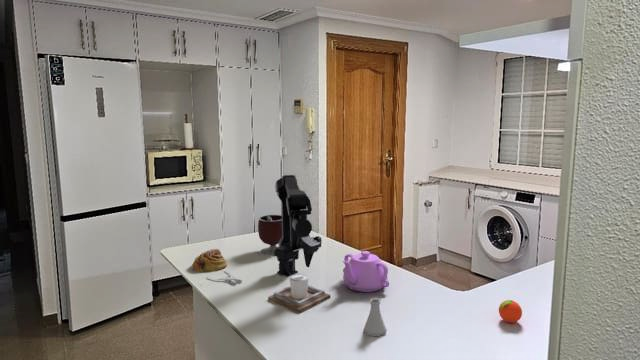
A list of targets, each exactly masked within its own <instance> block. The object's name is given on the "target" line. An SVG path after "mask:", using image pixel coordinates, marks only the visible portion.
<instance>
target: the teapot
mask: <svg viewBox="0 0 640 360" xmlns="http://www.w3.org/2000/svg"><path fill="white" fill-rule="evenodd" d="M349 258H350V259H349ZM342 263H343V264H344V268H343V269H342V272H343V276H342V280H343V282H344V284H345V285H346V286H347V287H348V288H349V289H351V290H353V291H357V292H362V293H373V292H376V291H379V290H381V289H383V288H388V287H389V285H390V282H389V280H388V274H389V268H388V266H387V264H386V263H384V262H382V260H381V259H380V257H378V255H376V254H373V253H371V252H370V251H368V250H363V251H360V253H356V254H352V253H347V254H346V255H344V259H343V261H342Z"/></svg>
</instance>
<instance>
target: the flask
mask: <svg viewBox="0 0 640 360" xmlns="http://www.w3.org/2000/svg"><path fill="white" fill-rule="evenodd" d="M369 301H370V311H369V314H368V317H367V320H366V322H365V324H364V328H363V332H364V333H365V334H366V335H367V336H372V337H373V336H374V337H379V336H384V335H386V334H387V327H386V325H385V322H384V320H383V316H382V313H381V309H380V304H381V300H380V299H379V298H371V299H370V300H369Z"/></svg>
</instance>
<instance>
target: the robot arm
mask: <svg viewBox="0 0 640 360" xmlns="http://www.w3.org/2000/svg"><path fill="white" fill-rule="evenodd" d="M274 186H275V193H276V195H277V197H278V199H279V200H280V203H281V205H280V207H281V215H282V237H281V239H280V240H279V244H278V246H276V247H277V248H276V249H275V250H274V256H273V257H276V260H277V261H278V270H277V272H276V273H277V274H278V275H279V274H280V275H282V276H284V277H291V276H292V275H296V274H297V273H298V272H299V271H298V270H296V260H299V257H300V255H299V253H300V250H302V252H303V256H304V258H303V259H304V263H305V267H307V268H310V265H311V262H312V259H313V256H314V253H317V252H318V250H319V249H320V248H322V237H321V236H320V235H317V236H310V234H311V232H312V230H313V225H312V223H311V221H310V220H309V219H308V215H312V211H313V209H312V208H313V207H312V203H311V199H310V197H309V196H308V194H307V193H306V192H305V191H304V190H301V189H300V187H299V185H298V179H297V177H296V175H294V174H284V175H282V176H281V178H278V179H277V180H276V182H275V185H274Z"/></svg>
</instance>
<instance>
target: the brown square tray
mask: <svg viewBox="0 0 640 360" xmlns="http://www.w3.org/2000/svg"><path fill="white" fill-rule="evenodd" d="M329 299H331V294H328V293H326V292H325V290H322V289H320V288H317V287H314V286H312V285H309V284H308V291H307V297H306V298H303V299H295V298H293V297H292V295H291V286H290V285H289V286H287V287H284V288H282V289H279V290H276V291H275V292H273V294H272V295H269V296H268V297H267V300H268V301H270V302H272V303H274V304H277V305H279V306H281V307H284V308H286V309H288V310H290V311H293V312H296V313H299V314H301V313H303V312H305V311H307V310H309V309H311V308H313V307H315V306H317V305H319V304H322V303H323V302H326V301H328V300H329Z"/></svg>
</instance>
